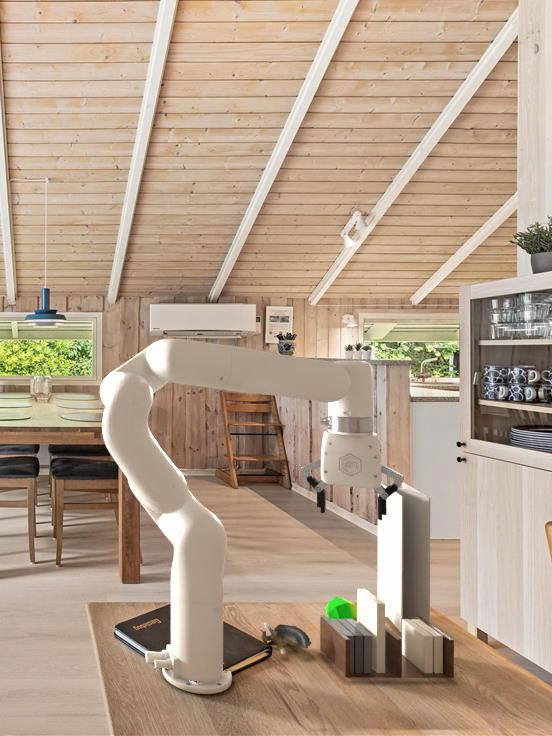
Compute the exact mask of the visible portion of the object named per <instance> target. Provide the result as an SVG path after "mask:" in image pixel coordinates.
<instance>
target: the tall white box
mask: <svg viewBox="0 0 552 736" xmlns="http://www.w3.org/2000/svg"><path fill="white" fill-rule="evenodd" d="M381 485H382V486H383V487H384V488H386V487H388V486H389V485H390V484H389V483H386V482H383V481H381ZM378 496H379V494H378V493H377V497H378ZM377 598H378V599H379V600H381V601H382V602H383V603H385V618H388V619H389V620H390V621H391V623H392V624H393V625H394V626H395V627H396V628H397V629H398V631H399V632H400V634H402V619H410V620H412V619H416V616H421V617H422V618H424V619H425V620H426V621H428V622H429V623H431V497H430V496H428V495H426V494H425V493H423V492H421V491H420V490H417V489H416V488H415V487H412V486H411V485H409V484H407V483H406V482H404V481H403V482H402V483H401V487H399V488H398V490H397V491H396V492H394V493H393V494H392V495H390V496H389V497H388V498H387V515H382V520H379V519H378V518H377Z"/></svg>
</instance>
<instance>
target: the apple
mask: <svg viewBox="0 0 552 736" xmlns="http://www.w3.org/2000/svg"><path fill="white" fill-rule="evenodd" d="M325 613H326V615H327V619H336V620H337V619H353V620H355V621H356V622H357V605H356V604H355V603H354V602H352V601H350V600H348V599H345V598H343V597H340V596H338V595H337V596H335V597H333V598H332V599H331V600H329V601H328V602H327V603H326V606H325Z"/></svg>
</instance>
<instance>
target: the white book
mask: <svg viewBox="0 0 552 736" xmlns="http://www.w3.org/2000/svg"><path fill="white" fill-rule="evenodd" d="M356 609H357V621H356V622H357V623H358V624H359V625H360V626H361V627H363V628H364V629H365V630H366V631H367V632H368V633H370V634H371V635H372V669H373V670H374V671H375V672H376V673H385V627H386V617H385V603H383V602H382V601H381V600H379V599H378V596H376V595H374V594H373V593H372V592H370V591H369V590H367V589H366V588H357V590H356Z"/></svg>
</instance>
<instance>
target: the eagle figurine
mask: <svg viewBox="0 0 552 736" xmlns="http://www.w3.org/2000/svg"><path fill="white" fill-rule="evenodd" d="M263 625H264V628H265V629H266V630H263V629H261V628H260V629H259V631H260V632H261V636H260V639H261V641H262V644H263V643H264V644H266V645H269V646H270V647H272V646H276V647H277V650H278V651H279V652H280V654H282V655H284V656H285V655H287V651H286V648H289V649H291V650H293V651H294V652H296V653H298V654H299V655H300V654H303V653H304V652H305V651H304V649H309V647H311V645H312V641H311V639H310V637H309V635H308V634H307V633H306V632H305V631H304V630H303V629H301V628H299V627H297V626H296V625H289V624H281V623H280V624H278V625H277V626H275V627H274V629H273V628H272V627H271V626H270V624H269V623H268V622H263ZM267 632H268V633H269V634H270V635H267Z"/></svg>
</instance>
